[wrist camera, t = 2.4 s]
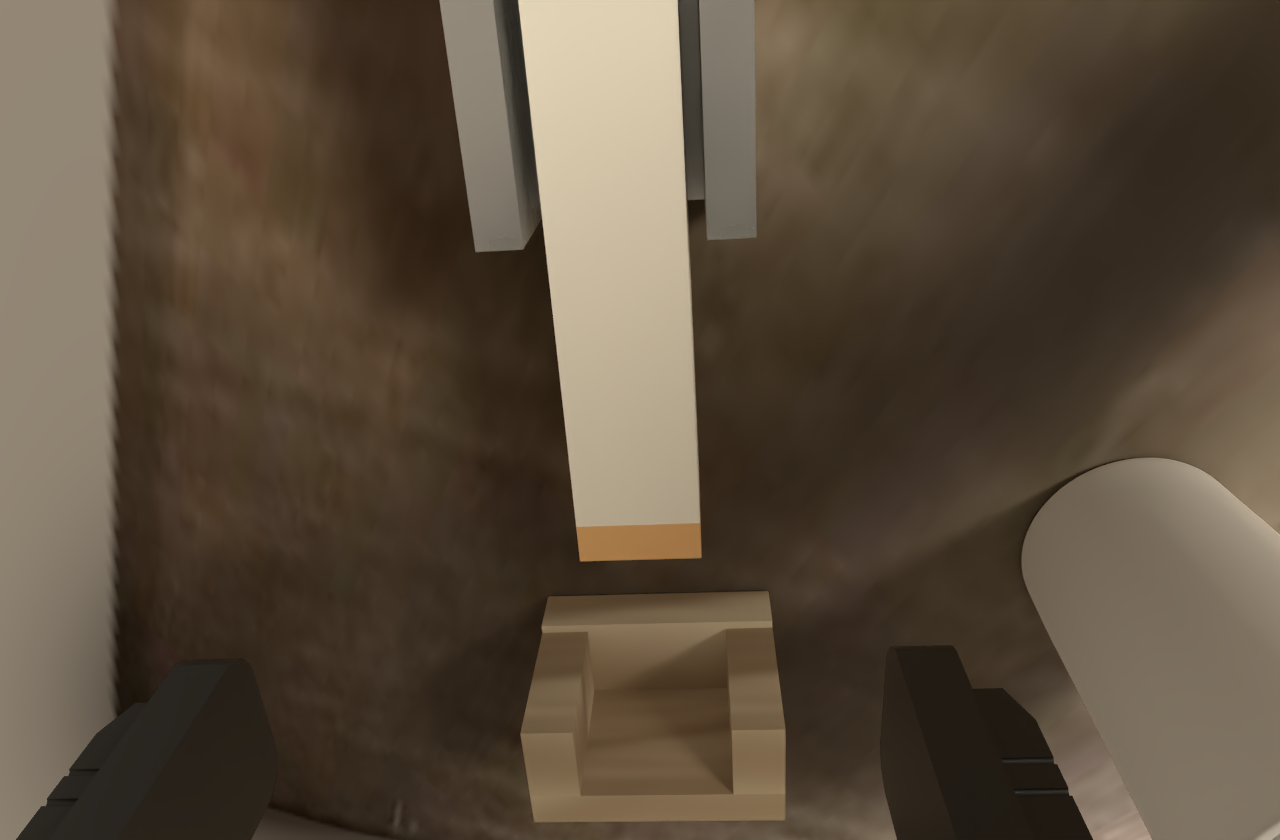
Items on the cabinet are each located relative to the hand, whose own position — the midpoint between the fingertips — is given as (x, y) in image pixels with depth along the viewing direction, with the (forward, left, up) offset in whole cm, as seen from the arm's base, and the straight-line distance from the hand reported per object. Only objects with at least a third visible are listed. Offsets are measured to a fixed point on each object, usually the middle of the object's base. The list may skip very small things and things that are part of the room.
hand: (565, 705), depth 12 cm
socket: (-6, +10, -15) cm, 19 cm away
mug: (-18, -1, -16) cm, 24 cm away
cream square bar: (+2, -4, -13) cm, 14 cm away
